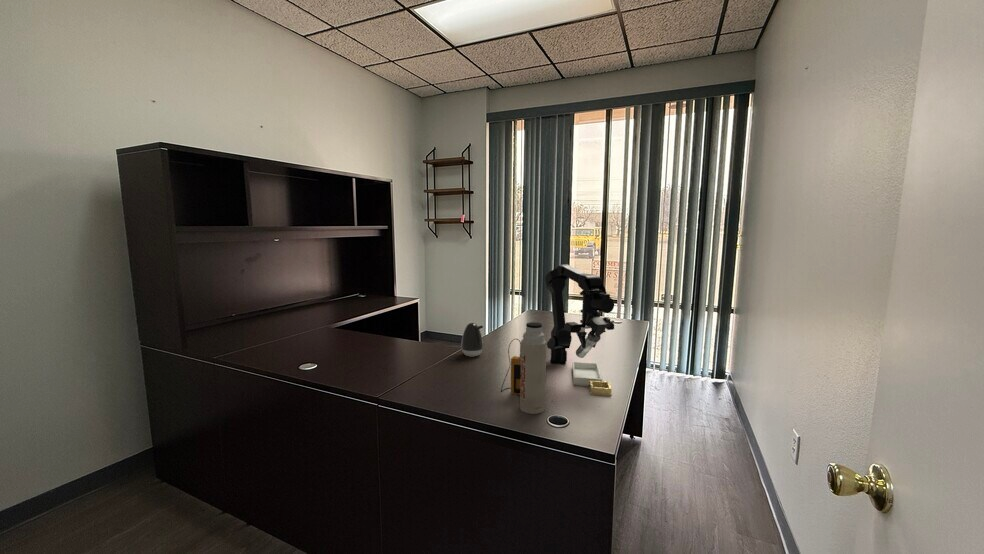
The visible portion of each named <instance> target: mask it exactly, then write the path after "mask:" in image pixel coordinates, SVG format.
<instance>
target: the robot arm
mask: <svg viewBox="0 0 984 554" xmlns="http://www.w3.org/2000/svg"><path fill="white" fill-rule="evenodd" d="M569 279H570V280H572V281H573V282H576V283H577V285H578V288H580V289H581V290H582V291H580V292H579V295H580V296H582V309H580V313H581V319H580V320H579V323H578V322H575V321H570V322H567V321H566V316H565V307H564V295H563V291H564V289H565V287H566V281H567V280H569ZM544 280H545V285H546V288H547V290H548V291H549V293H550V298H551V307H552V308H551V310H552V317H553V327H552V329H551V331H550V338H549V339H548V341H546V348H548V349H550V364H556V365H557V364H560V365H566V362H567V361H568V353H567V352H568V351H567V350H566V349H570V347H571V343H572V340H573V339H572V338H573V337H572V334H575V333H576V336H577V337H578V340H579V343H580V345H582V347H583V348H584V349H585V339H586V337H587V336H586V335H588V332H586V329H590V331H595V332H598V333H599V334H600V336H601V335H602V334H604V333H605V332H606V331H610V330H611V331H612V330H615V323H614V322H613V321H612V320H611V318H610V317H608V316H606V317H605V316H604V317H601V313H604V314H609V313H611V312H612V311H613V310H614V307H615V303H614V299H613V298H612V297H611V294H610V293H607V290H606V287H605V286H604V282H603V281H602V277H600V275H598V274H592V273H585V272H583V271H581V270H579V269H577V268H575V267H573V266H571V265H569V264H560V265H558V266H557V267H556V268H554V269H552V270H550V271H549V272H547V274H546V275H545V276H544ZM596 346H597V343H596V344H595V345H594V346H593V347H592V348H596Z"/></svg>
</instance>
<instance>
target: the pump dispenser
mask: <svg viewBox="0 0 984 554" xmlns="http://www.w3.org/2000/svg"><path fill="white" fill-rule="evenodd" d="M483 328H484V325H479V326H478V325H477V323H474V322H469V323H468V324H467V325H466V327H465V328H464V331H463V334H462V337H461V343H460V349H461V351H462V353H463V354H464V355H465V356H467V357H468V356H469V357H470V358H475V356H476V357H477V356H479V355H481V354H482V352H483V349H484V342H483V337H482V333H481V329H483Z"/></svg>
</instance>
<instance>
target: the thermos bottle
mask: <svg viewBox="0 0 984 554" xmlns="http://www.w3.org/2000/svg"><path fill="white" fill-rule="evenodd" d="M525 325H526V328H525V332H523V334H522V339H521V340H520V342H521V380H520V395H519V409H520V410H521V411H522V412H523V413H525V414H529V415H530V414H531V415H536V414H541V413H543V412H544V411H545V409H546V373H547V372H546V370H547V369H546V368H547V366H546V364H547V340H546V339H545V333H543V332H542V326H543V323H540V322H534V321H532V322H527V323H526V324H525Z"/></svg>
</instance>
